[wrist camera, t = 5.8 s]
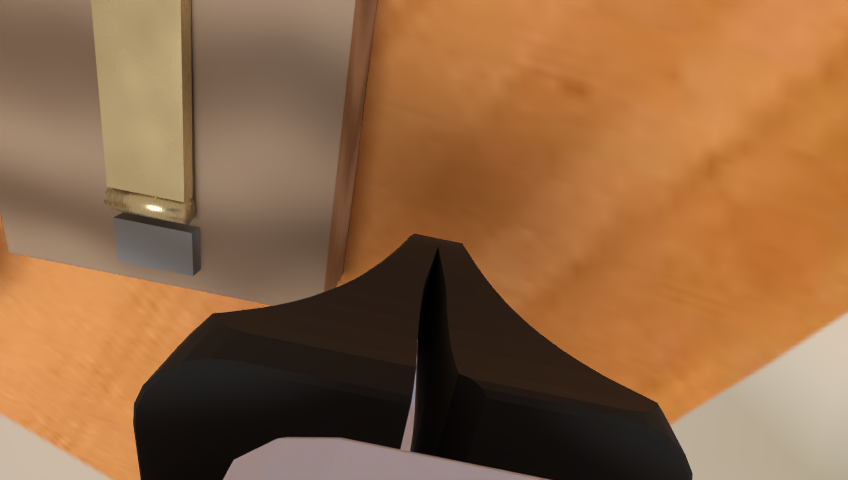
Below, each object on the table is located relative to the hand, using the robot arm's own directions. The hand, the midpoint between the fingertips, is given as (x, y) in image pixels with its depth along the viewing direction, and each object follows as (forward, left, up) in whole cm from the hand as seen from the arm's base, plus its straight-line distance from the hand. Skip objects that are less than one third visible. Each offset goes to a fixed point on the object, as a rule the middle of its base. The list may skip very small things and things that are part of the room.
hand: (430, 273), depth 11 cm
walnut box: (+2, +11, -10) cm, 15 cm away
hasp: (+2, +11, -6) cm, 13 cm away
